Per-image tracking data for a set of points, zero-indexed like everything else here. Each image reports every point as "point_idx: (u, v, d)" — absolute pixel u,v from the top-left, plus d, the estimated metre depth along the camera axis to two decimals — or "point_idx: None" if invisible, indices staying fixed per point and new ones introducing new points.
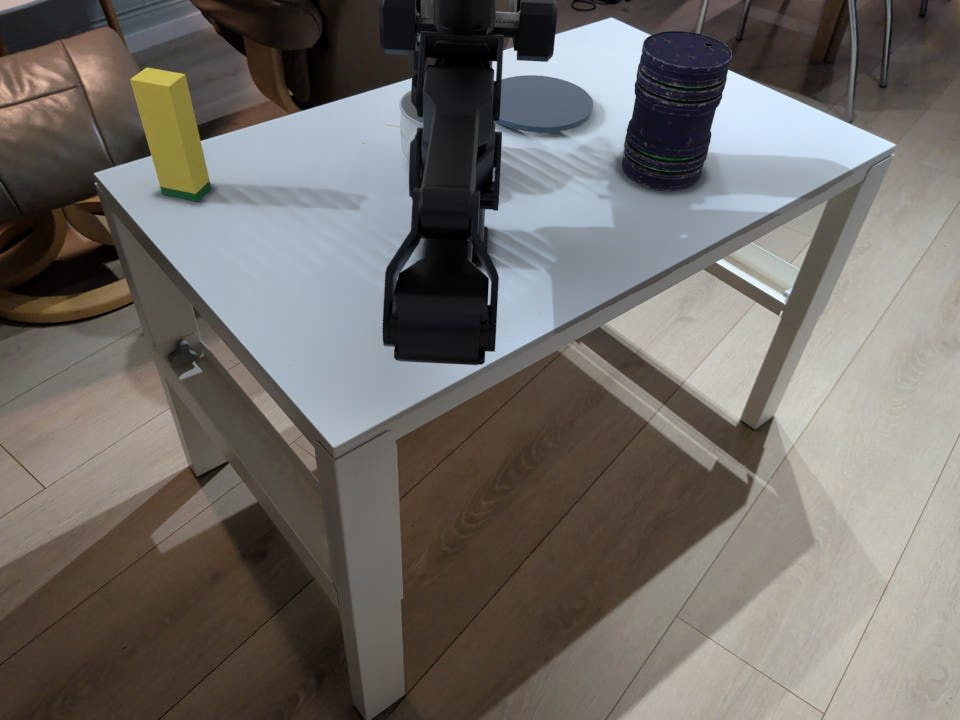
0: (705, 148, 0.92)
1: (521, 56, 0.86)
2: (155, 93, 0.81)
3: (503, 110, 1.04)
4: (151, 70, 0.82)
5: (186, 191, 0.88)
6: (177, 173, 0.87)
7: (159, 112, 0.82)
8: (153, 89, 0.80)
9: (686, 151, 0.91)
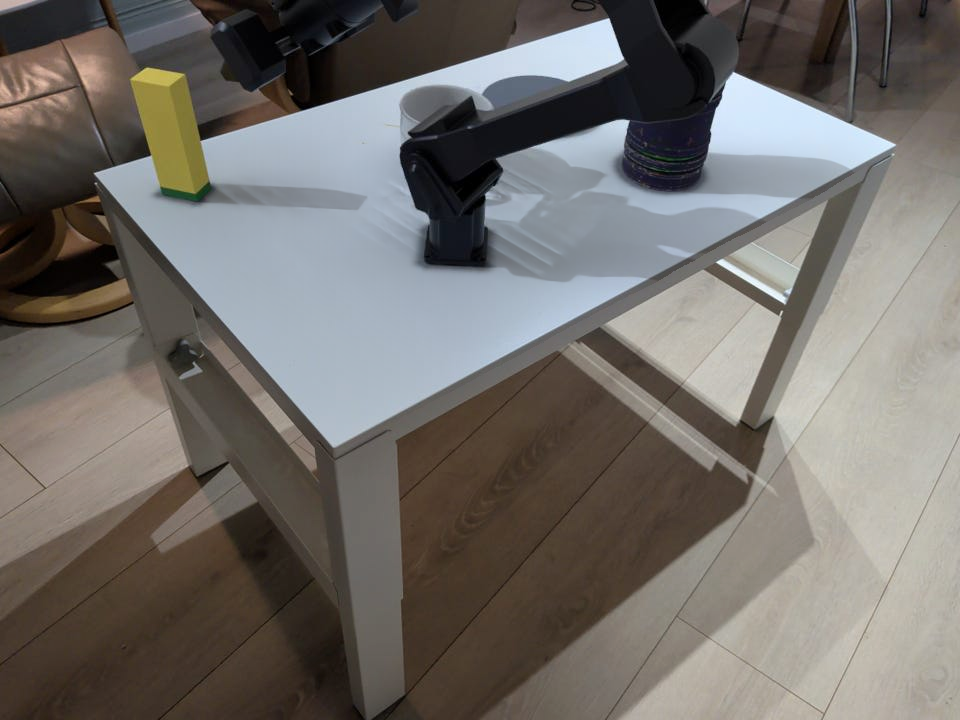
0: (705, 148, 0.92)
1: None
2: (155, 93, 0.81)
3: None
4: (151, 70, 0.82)
5: (186, 191, 0.88)
6: (177, 173, 0.87)
7: (159, 112, 0.82)
8: (153, 89, 0.80)
9: (686, 151, 0.91)
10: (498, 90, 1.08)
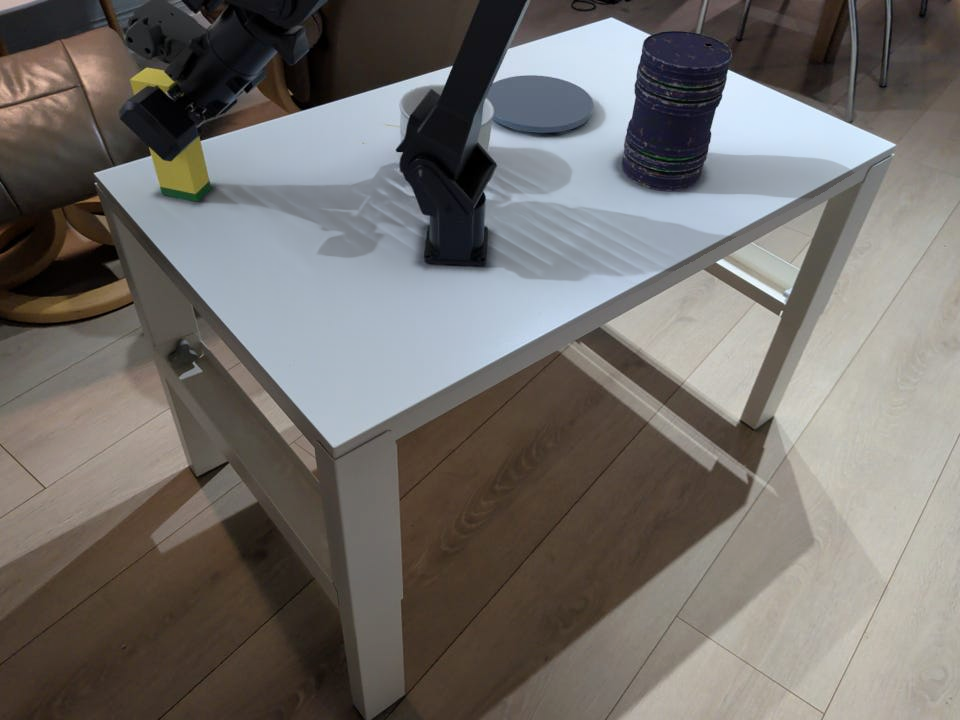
0: (705, 148, 0.92)
1: None
2: None
3: (503, 110, 1.04)
4: (151, 70, 0.82)
5: (186, 191, 0.88)
6: (177, 173, 0.87)
7: None
8: None
9: (686, 151, 0.91)
10: (498, 90, 1.08)
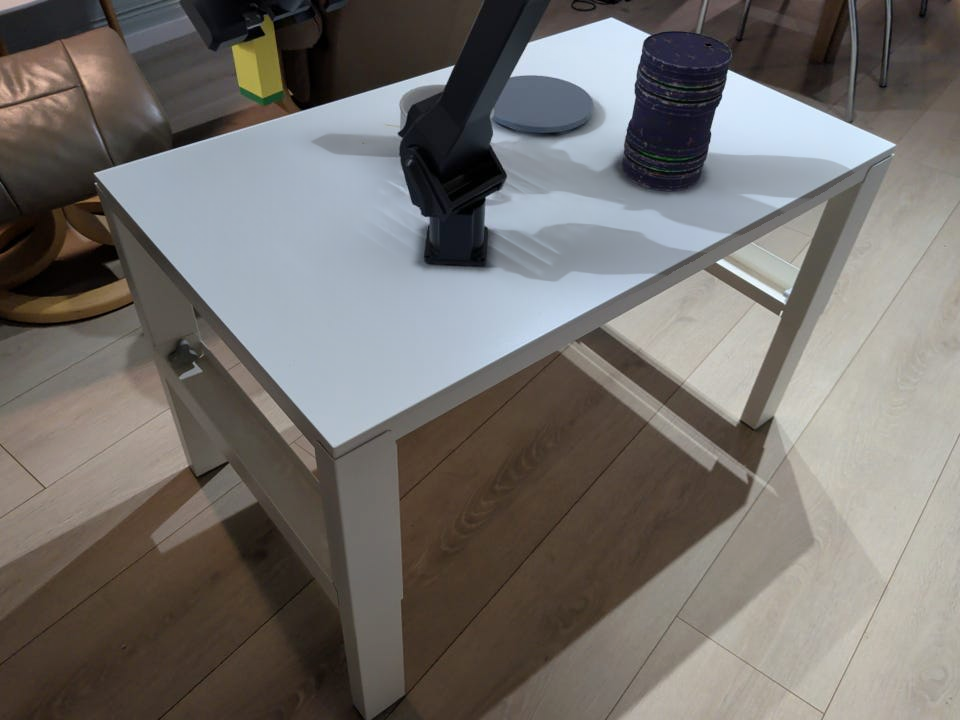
0: (705, 148, 0.92)
1: None
2: None
3: (503, 110, 1.04)
4: None
5: (256, 94, 0.93)
6: (250, 74, 0.92)
7: None
8: None
9: (686, 151, 0.91)
10: None
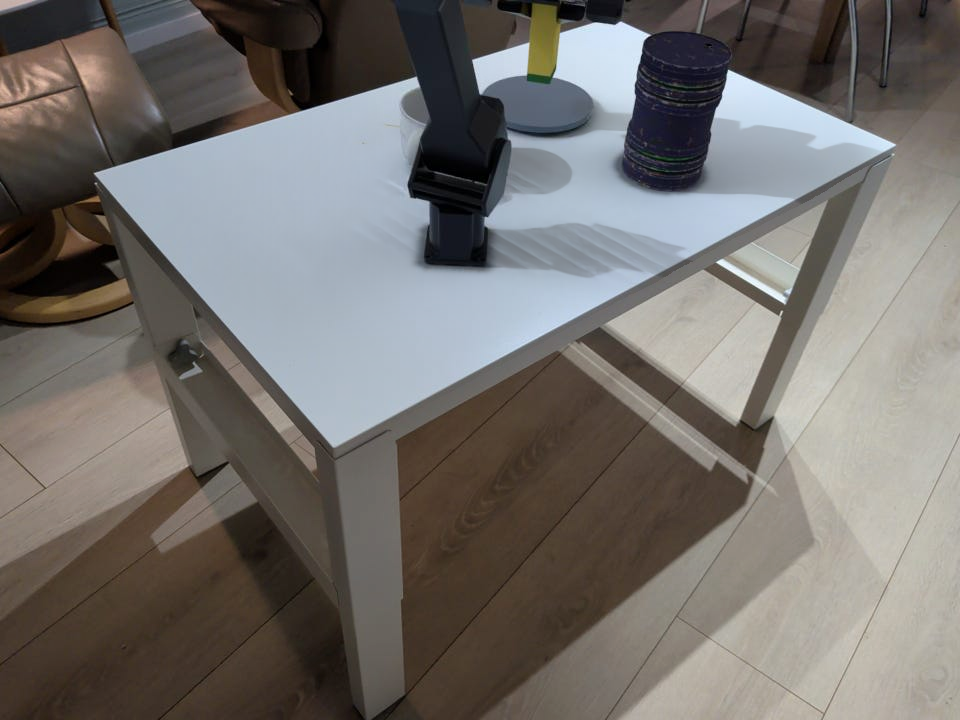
0: (705, 148, 0.92)
1: (591, 3, 0.87)
2: None
3: None
4: None
5: None
6: None
7: None
8: None
9: (686, 151, 0.91)
10: (498, 90, 1.08)
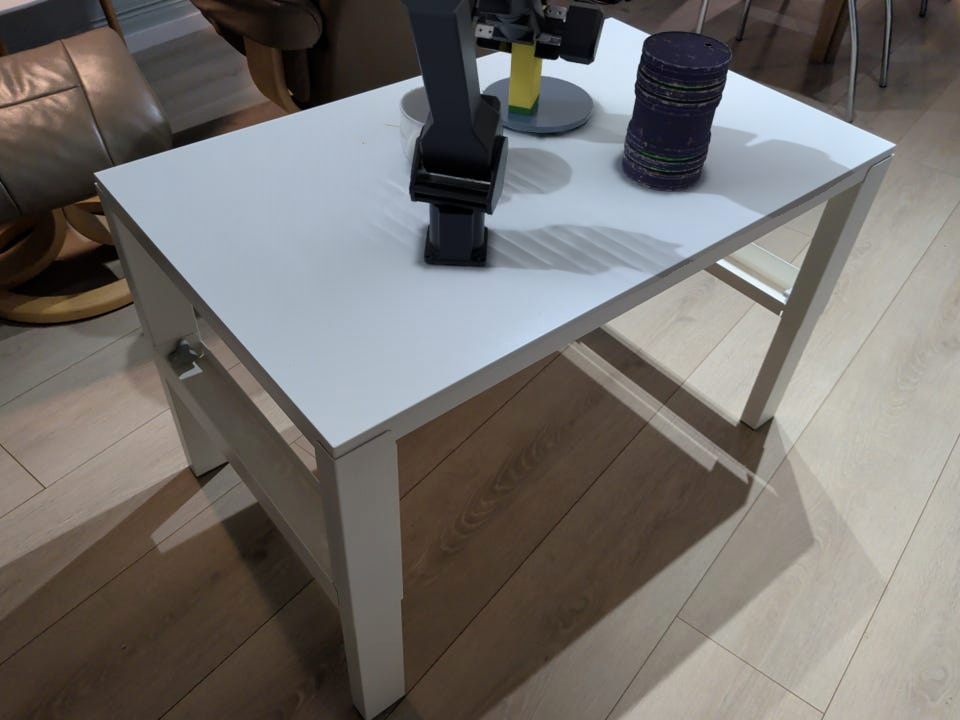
0: (705, 148, 0.92)
1: (564, 44, 0.90)
2: None
3: (503, 110, 1.04)
4: None
5: None
6: None
7: None
8: None
9: (686, 151, 0.91)
10: (498, 90, 1.08)
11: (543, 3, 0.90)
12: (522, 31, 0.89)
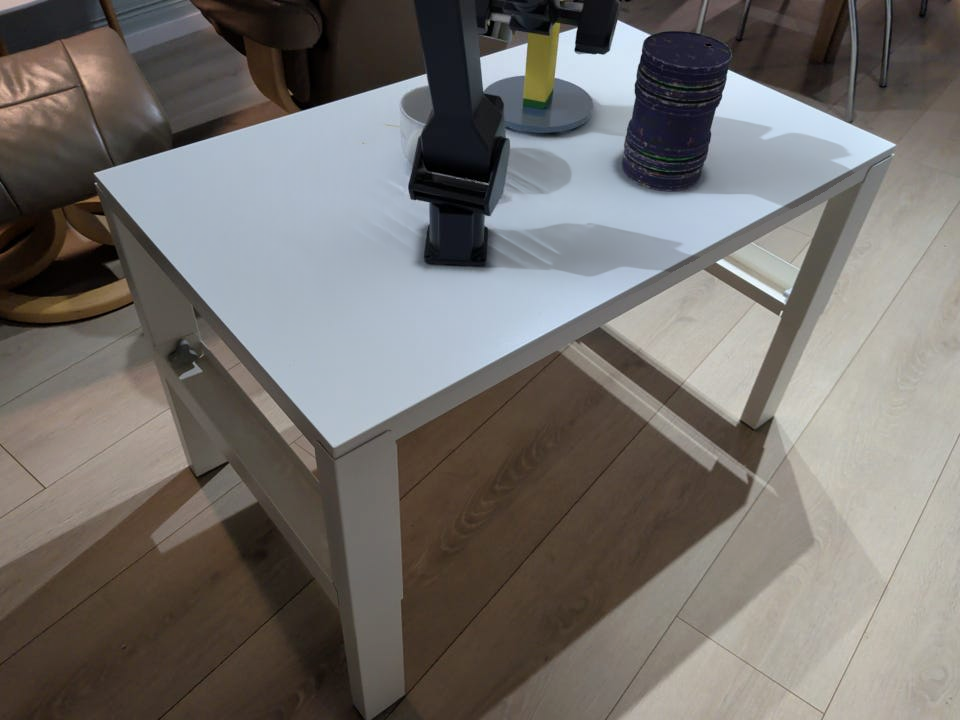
0: (705, 148, 0.92)
1: (580, 34, 0.91)
2: None
3: None
4: None
5: None
6: None
7: None
8: None
9: (686, 151, 0.91)
10: (498, 90, 1.08)
11: None
12: (539, 20, 0.90)
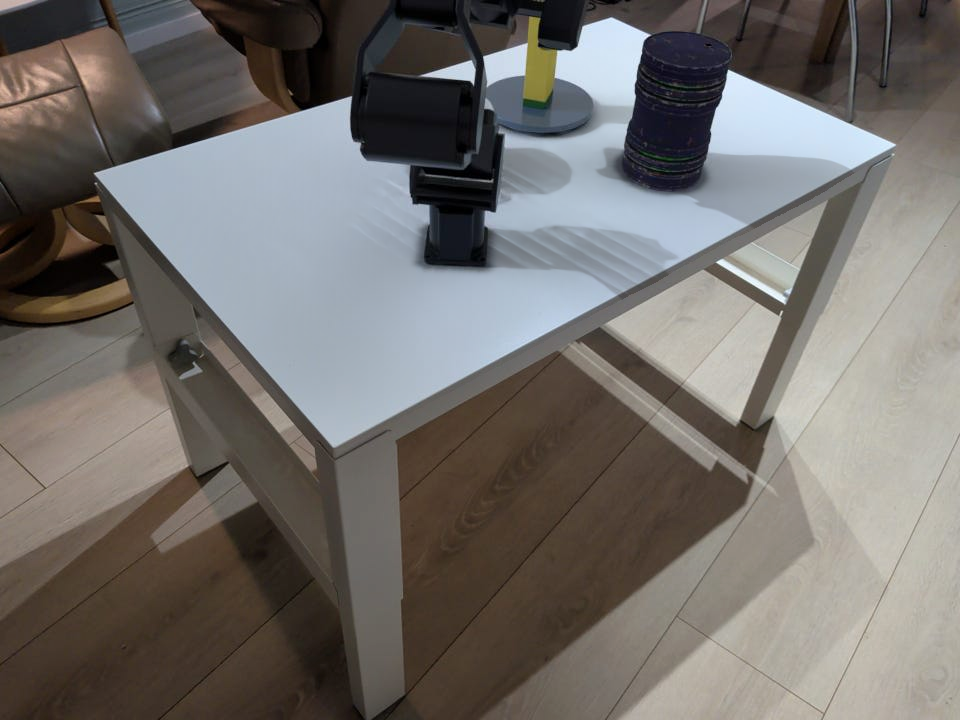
0: (705, 148, 0.92)
1: (542, 27, 0.80)
2: None
3: (503, 110, 1.04)
4: None
5: None
6: None
7: None
8: None
9: (686, 151, 0.91)
10: (498, 90, 1.08)
11: None
12: (495, 12, 0.78)
